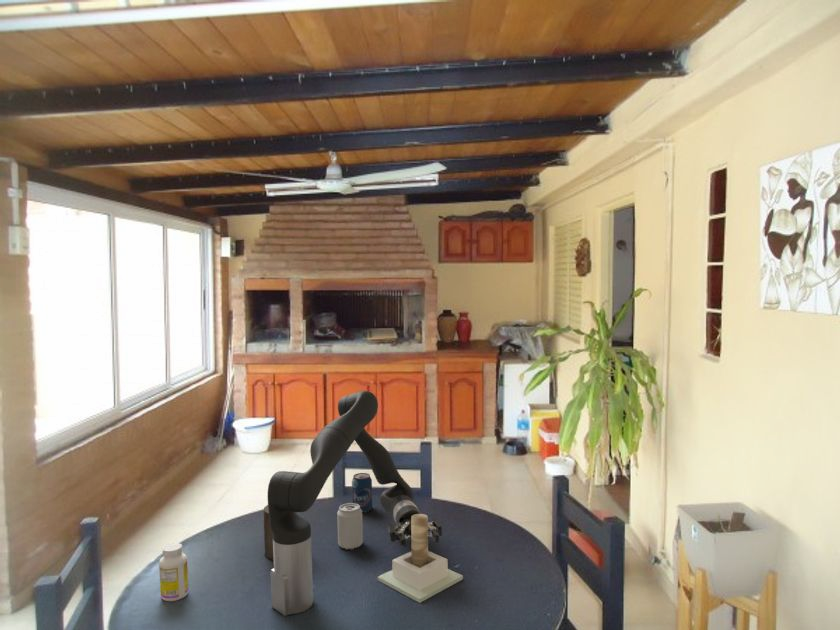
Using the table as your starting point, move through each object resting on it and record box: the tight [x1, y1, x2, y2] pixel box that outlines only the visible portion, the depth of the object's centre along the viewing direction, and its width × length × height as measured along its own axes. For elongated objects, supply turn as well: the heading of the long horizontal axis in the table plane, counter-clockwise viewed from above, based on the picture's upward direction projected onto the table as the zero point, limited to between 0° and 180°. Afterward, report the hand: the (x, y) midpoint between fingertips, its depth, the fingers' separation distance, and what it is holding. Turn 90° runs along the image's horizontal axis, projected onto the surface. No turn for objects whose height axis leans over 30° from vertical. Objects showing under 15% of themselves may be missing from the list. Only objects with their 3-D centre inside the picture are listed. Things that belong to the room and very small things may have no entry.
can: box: [336, 502, 364, 550], centre depth 181 cm, size 8×8×12 cm
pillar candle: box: [263, 504, 298, 561], centre depth 177 cm, size 10×10×15 cm
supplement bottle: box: [158, 542, 190, 602], centre depth 154 cm, size 7×7×13 cm
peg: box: [410, 513, 429, 568], centre depth 160 cm, size 4×4×16 cm
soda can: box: [351, 472, 373, 513], centre depth 209 cm, size 7×7×12 cm
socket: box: [377, 550, 464, 604], centre depth 160 cm, size 16×16×6 cm
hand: (421, 541), depth 158 cm, fingers open, 8 cm apart
